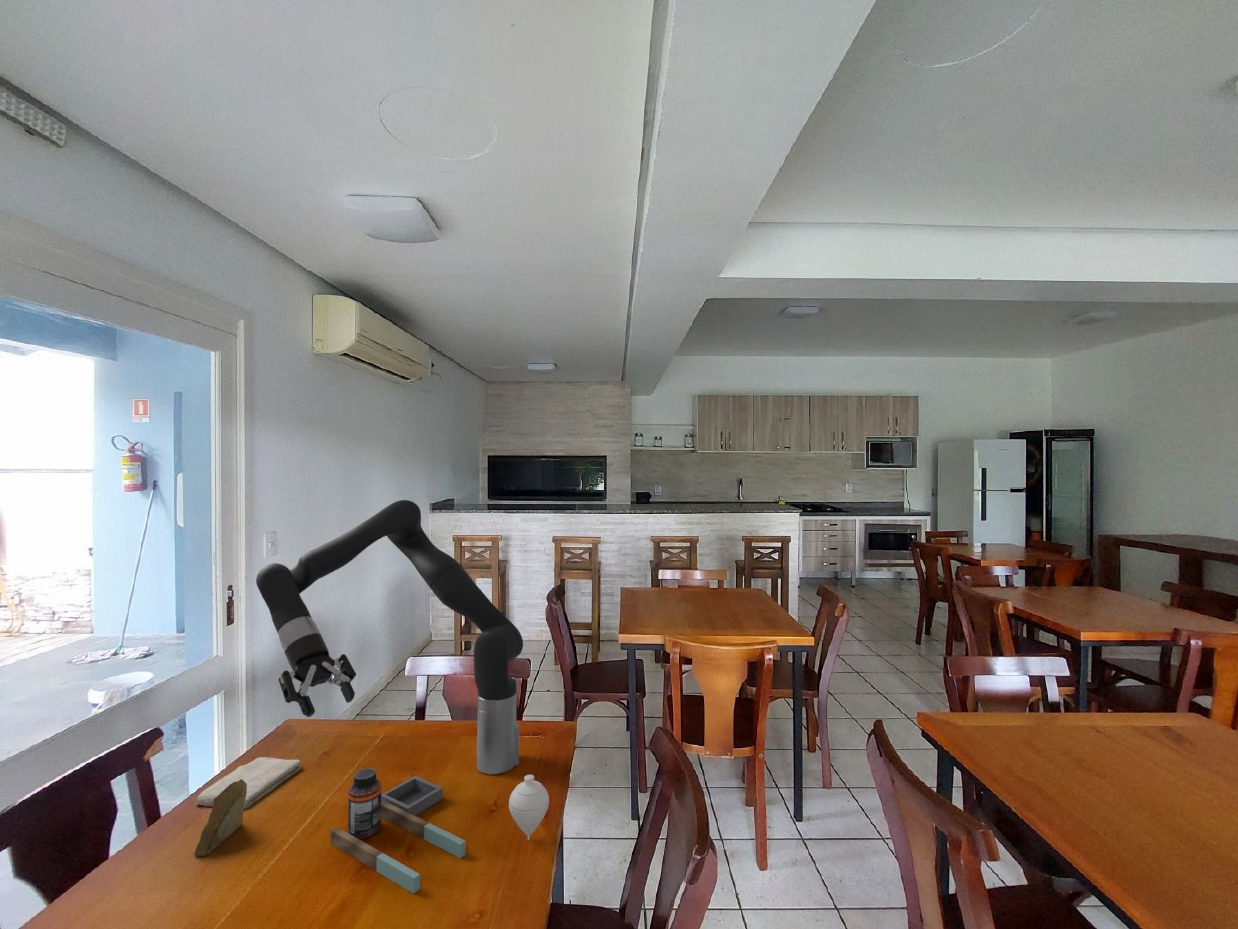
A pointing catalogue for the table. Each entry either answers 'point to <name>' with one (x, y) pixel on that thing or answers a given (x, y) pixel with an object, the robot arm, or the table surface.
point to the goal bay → (407, 875)
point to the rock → (223, 817)
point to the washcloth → (253, 779)
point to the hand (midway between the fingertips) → (331, 707)
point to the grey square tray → (414, 795)
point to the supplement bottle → (364, 804)
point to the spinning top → (528, 804)
